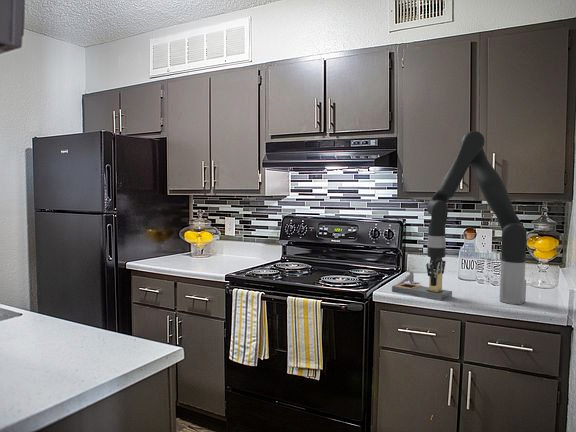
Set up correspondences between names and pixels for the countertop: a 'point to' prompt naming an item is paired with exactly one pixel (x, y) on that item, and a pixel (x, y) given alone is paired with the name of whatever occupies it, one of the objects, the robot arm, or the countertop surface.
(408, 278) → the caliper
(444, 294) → the gray fixture base
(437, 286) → the brass block
